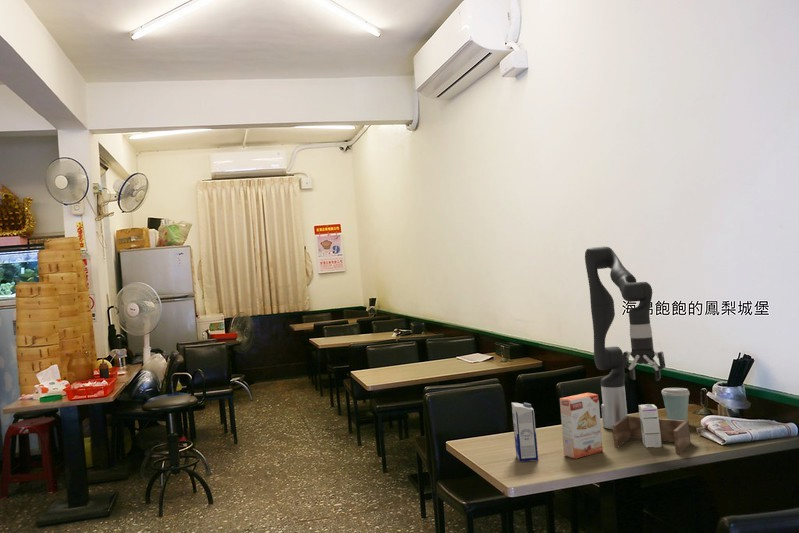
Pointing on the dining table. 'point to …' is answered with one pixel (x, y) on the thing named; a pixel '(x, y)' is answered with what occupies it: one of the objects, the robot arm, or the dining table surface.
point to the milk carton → (524, 432)
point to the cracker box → (581, 425)
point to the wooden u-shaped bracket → (668, 431)
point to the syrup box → (650, 425)
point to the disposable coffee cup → (676, 403)
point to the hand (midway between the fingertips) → (645, 380)
